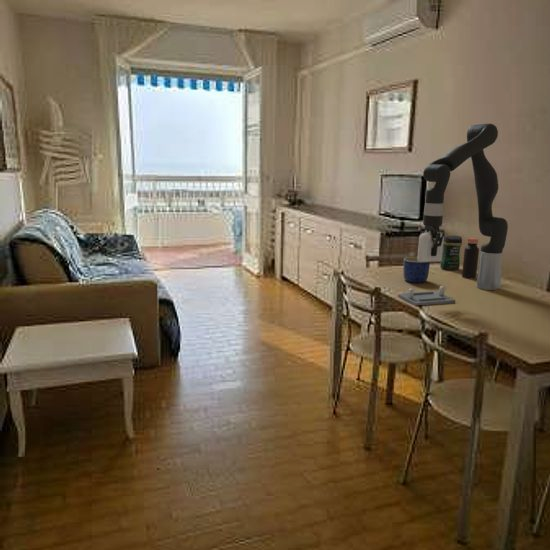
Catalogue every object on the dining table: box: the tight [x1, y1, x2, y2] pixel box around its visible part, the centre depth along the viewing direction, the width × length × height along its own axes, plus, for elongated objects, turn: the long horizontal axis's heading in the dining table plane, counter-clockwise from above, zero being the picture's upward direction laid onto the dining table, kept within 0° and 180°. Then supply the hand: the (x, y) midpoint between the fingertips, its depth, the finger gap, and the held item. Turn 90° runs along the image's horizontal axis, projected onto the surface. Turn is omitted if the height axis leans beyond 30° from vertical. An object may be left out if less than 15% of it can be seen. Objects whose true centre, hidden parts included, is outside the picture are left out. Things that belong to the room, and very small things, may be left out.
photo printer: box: [416, 232, 445, 263], centre depth 201 cm, size 10×4×12 cm, turn 98°
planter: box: [403, 256, 431, 284], centre depth 237 cm, size 12×12×11 cm
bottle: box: [461, 237, 480, 279], centre depth 244 cm, size 7×7×20 cm
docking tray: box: [397, 285, 456, 307], centre depth 206 cm, size 19×14×5 cm
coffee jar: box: [439, 235, 463, 271], centre depth 262 cm, size 10×8×19 cm
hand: (430, 254), depth 202 cm, fingers closed on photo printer, 4 cm apart
